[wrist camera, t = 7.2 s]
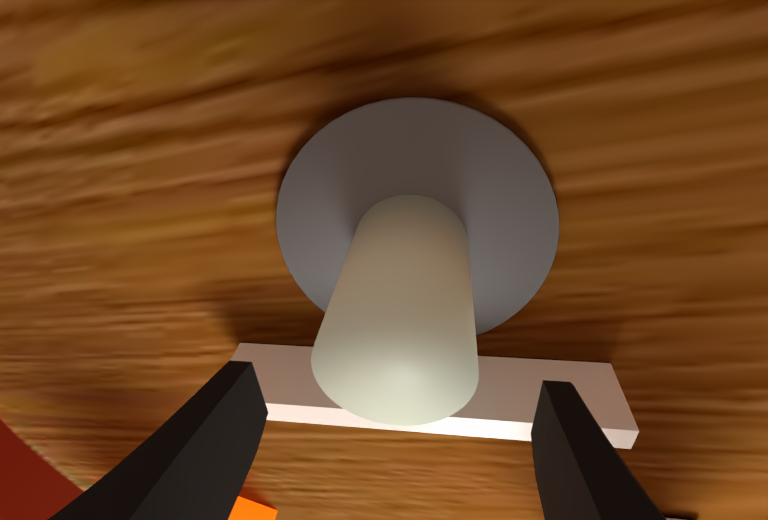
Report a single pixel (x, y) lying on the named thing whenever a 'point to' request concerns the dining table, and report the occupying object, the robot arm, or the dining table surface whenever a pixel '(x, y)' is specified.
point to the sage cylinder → (401, 317)
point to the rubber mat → (426, 178)
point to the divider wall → (477, 418)
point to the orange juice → (251, 511)
